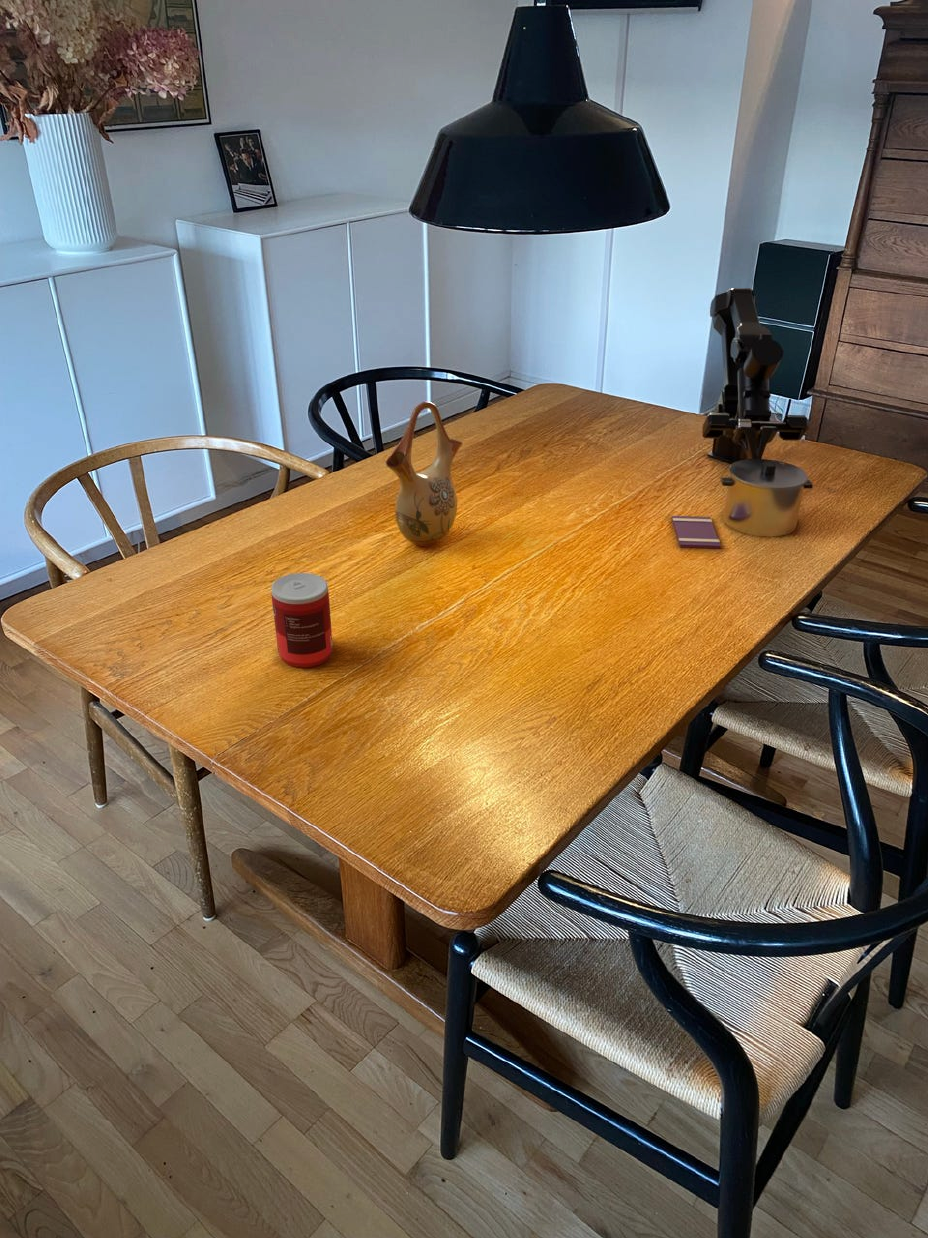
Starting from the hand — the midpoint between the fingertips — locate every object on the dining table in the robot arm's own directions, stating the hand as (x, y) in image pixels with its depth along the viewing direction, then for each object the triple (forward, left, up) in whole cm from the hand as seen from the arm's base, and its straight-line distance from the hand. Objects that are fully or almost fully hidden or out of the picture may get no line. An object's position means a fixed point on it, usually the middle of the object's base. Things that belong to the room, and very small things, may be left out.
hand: (755, 468), depth 175 cm
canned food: (-10, -94, -7) cm, 95 cm away
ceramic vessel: (-27, -58, -7) cm, 64 cm away
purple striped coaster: (+2, -19, -7) cm, 21 cm away
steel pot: (+6, -6, -7) cm, 11 cm away
